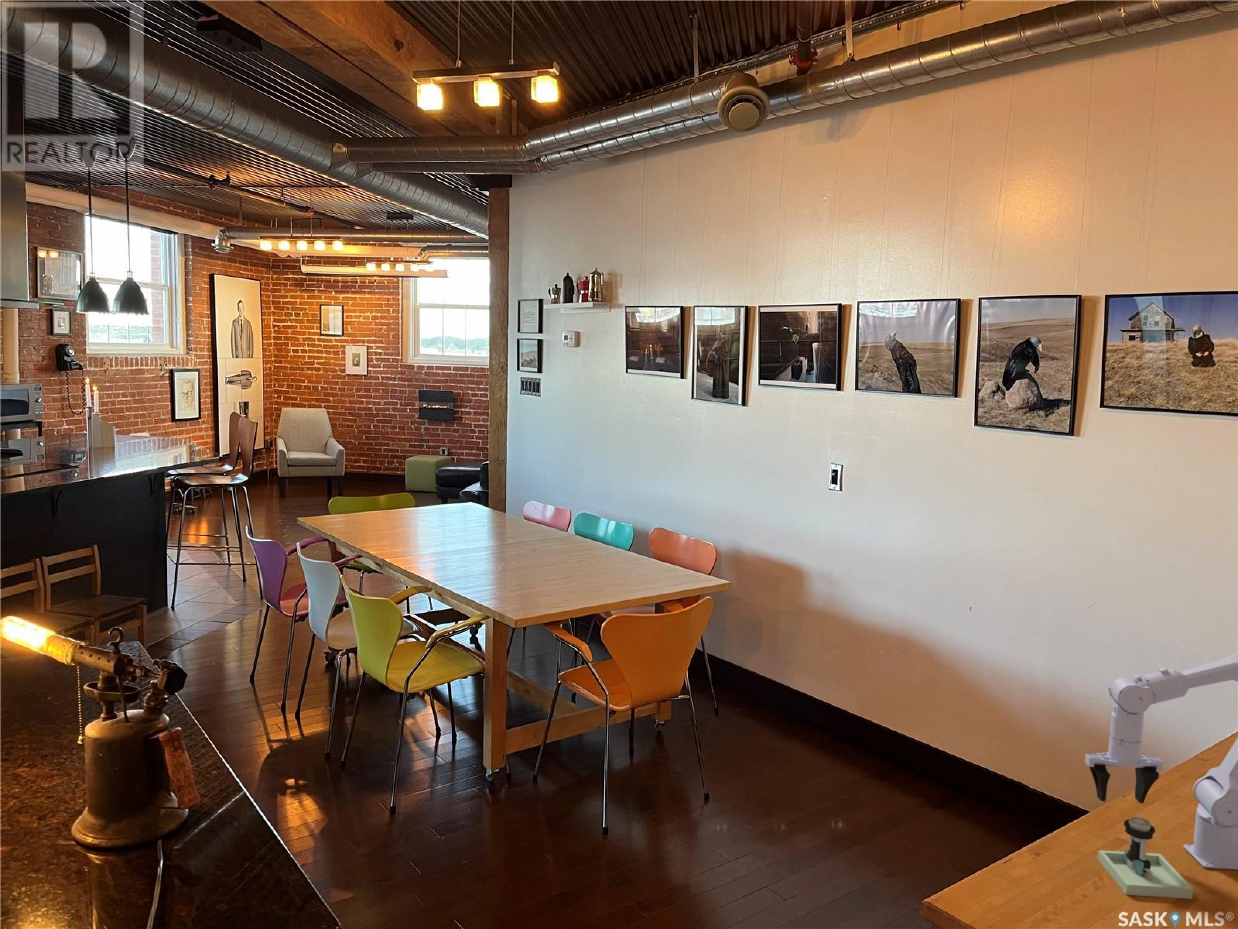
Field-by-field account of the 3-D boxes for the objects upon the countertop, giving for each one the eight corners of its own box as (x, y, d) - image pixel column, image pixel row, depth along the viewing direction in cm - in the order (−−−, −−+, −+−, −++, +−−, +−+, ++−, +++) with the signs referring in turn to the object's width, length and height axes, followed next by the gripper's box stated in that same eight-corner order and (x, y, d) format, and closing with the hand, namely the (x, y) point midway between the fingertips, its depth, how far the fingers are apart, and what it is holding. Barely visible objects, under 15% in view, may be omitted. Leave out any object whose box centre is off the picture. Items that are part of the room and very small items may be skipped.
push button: (1162, 879, 173) (1167, 831, 172) (1138, 881, 172) (1142, 833, 171) (1138, 860, 179) (1142, 813, 178) (1114, 862, 178) (1118, 815, 177)
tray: (1159, 863, 179) (1160, 854, 179) (1192, 899, 167) (1193, 889, 167) (1097, 859, 180) (1098, 850, 180) (1125, 894, 168) (1126, 884, 168)
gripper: (1151, 730, 186) (1146, 792, 187) (1080, 727, 187) (1075, 789, 188) (1170, 745, 179) (1164, 809, 180) (1096, 742, 180) (1090, 805, 181)
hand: (1120, 800), depth 184 cm, fingers open, 7 cm apart
